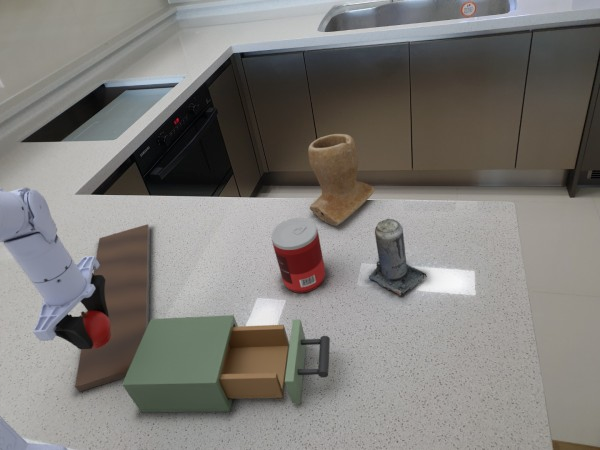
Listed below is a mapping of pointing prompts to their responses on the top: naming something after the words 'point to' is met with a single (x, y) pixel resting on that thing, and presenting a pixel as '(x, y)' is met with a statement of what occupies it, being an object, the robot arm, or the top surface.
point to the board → (120, 306)
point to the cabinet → (181, 365)
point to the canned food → (299, 254)
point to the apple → (97, 327)
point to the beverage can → (393, 259)
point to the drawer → (269, 361)
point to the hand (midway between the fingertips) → (94, 332)
